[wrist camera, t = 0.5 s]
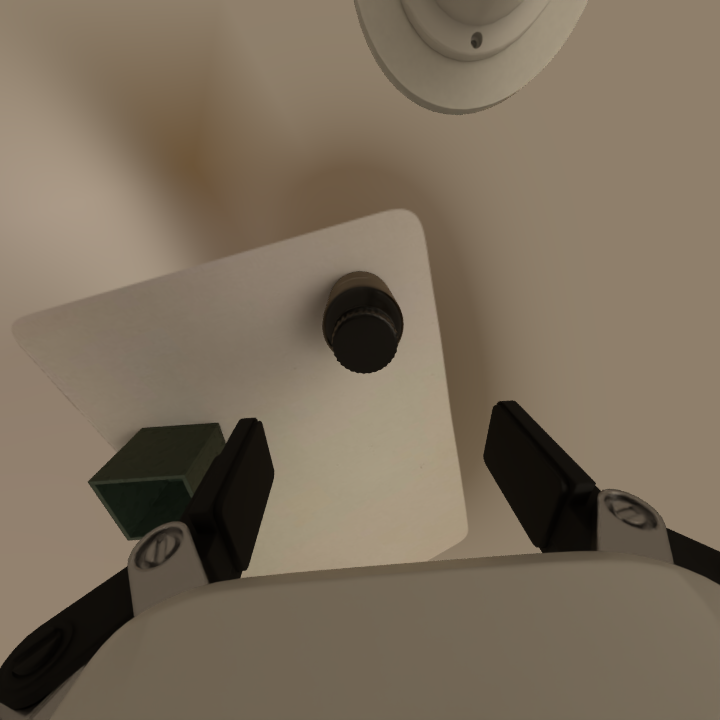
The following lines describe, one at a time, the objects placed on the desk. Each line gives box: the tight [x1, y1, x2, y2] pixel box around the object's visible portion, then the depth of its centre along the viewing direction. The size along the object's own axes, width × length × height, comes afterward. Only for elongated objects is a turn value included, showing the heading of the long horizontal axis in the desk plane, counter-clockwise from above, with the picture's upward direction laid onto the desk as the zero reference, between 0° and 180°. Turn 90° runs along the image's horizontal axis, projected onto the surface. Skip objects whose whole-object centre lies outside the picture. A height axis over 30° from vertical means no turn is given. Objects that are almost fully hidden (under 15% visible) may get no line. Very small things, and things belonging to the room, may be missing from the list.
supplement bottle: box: [322, 271, 404, 374], centre depth 25 cm, size 7×7×12 cm
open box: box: [88, 423, 226, 540], centre depth 34 cm, size 10×10×8 cm
